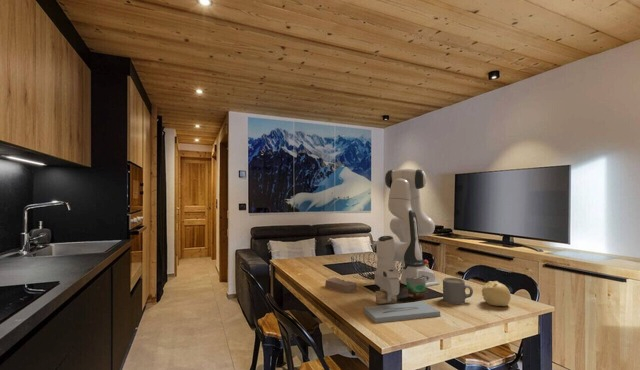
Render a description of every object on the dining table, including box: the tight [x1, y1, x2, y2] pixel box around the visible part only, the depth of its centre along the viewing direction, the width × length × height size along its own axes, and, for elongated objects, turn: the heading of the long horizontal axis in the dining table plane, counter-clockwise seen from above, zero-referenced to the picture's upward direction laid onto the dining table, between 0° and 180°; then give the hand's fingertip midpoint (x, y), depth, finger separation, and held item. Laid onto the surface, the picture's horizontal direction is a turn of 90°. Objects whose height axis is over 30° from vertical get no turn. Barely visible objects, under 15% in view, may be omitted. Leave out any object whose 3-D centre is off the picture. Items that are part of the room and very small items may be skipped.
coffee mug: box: [442, 277, 474, 305], centre depth 155 cm, size 13×10×10 cm
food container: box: [406, 275, 427, 300], centre depth 161 cm, size 12×6×10 cm, turn 117°
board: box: [363, 300, 441, 324], centre depth 139 cm, size 30×13×2 cm, turn 103°
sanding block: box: [375, 290, 398, 306], centre depth 153 cm, size 9×4×5 cm, turn 103°
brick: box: [325, 276, 358, 294], centre depth 176 cm, size 17×8×5 cm, turn 48°
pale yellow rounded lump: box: [481, 280, 511, 307], centre depth 151 cm, size 12×12×11 cm
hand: (386, 298), depth 153 cm, fingers closed on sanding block, 4 cm apart
